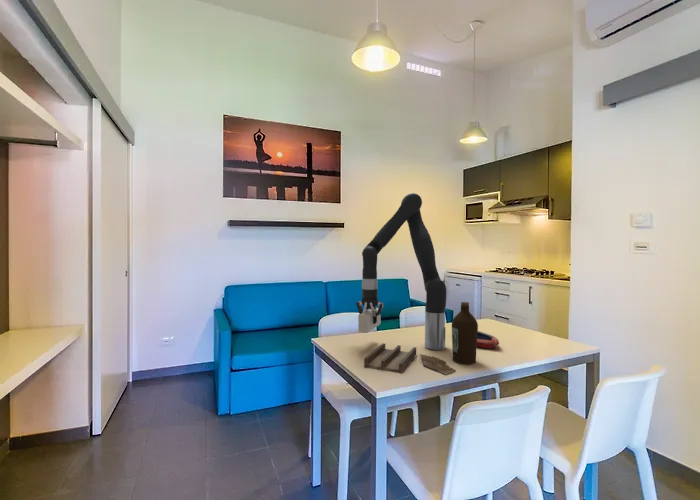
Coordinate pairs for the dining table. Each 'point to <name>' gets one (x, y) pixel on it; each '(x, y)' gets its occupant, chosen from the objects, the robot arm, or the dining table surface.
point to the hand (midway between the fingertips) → (370, 323)
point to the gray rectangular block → (367, 321)
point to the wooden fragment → (436, 364)
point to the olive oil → (464, 336)
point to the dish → (486, 340)
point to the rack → (389, 359)
